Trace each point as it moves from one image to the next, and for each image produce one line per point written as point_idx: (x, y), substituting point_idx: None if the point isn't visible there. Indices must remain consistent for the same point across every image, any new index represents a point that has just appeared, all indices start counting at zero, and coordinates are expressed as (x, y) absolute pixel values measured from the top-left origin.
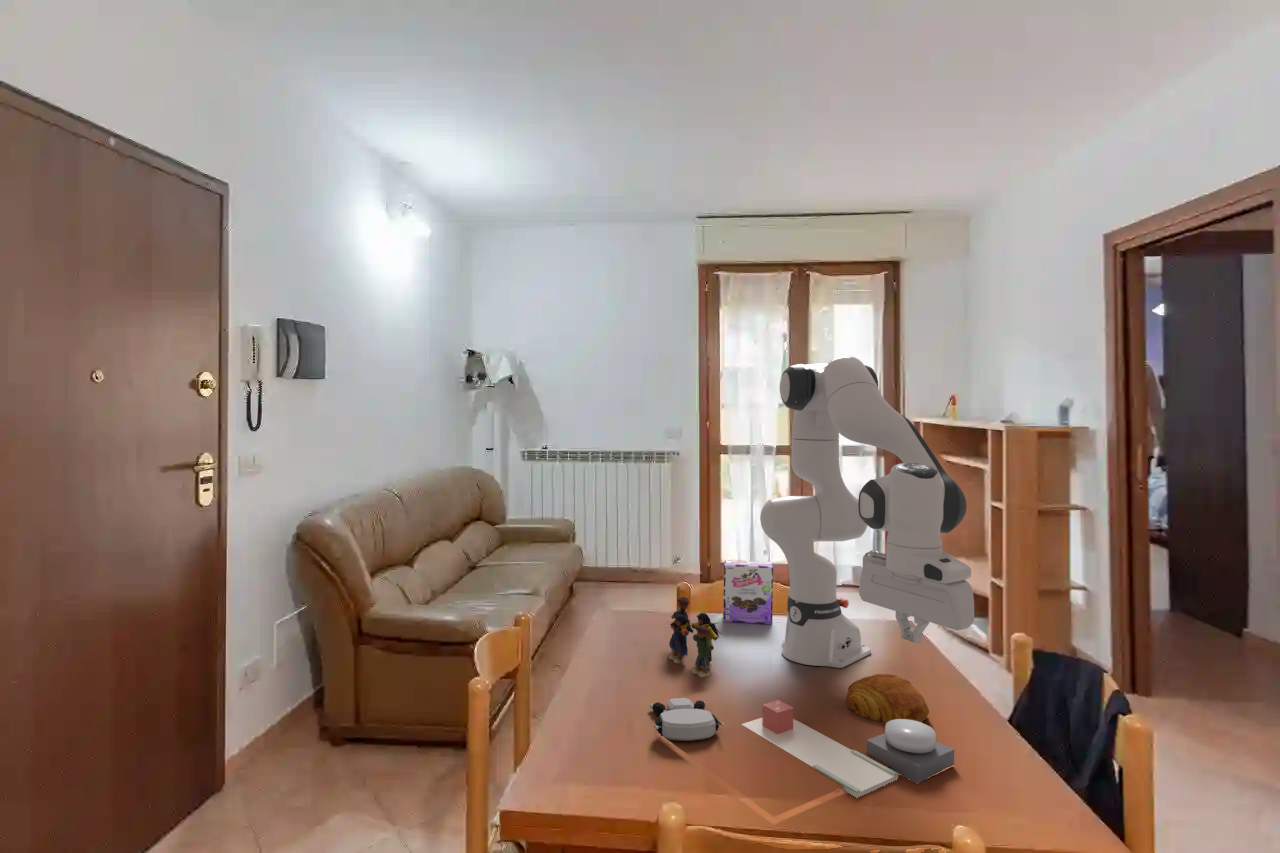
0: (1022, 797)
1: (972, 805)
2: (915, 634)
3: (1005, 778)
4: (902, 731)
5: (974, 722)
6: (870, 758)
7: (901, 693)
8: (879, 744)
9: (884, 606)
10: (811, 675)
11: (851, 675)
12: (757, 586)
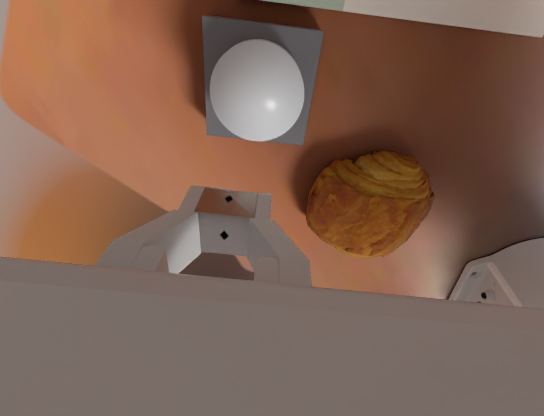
0: (114, 120)
1: (123, 31)
2: (181, 205)
3: (158, 150)
4: (262, 75)
5: None
6: (300, 5)
7: (340, 214)
8: (296, 36)
9: (407, 300)
10: (507, 219)
11: (446, 254)
12: None
